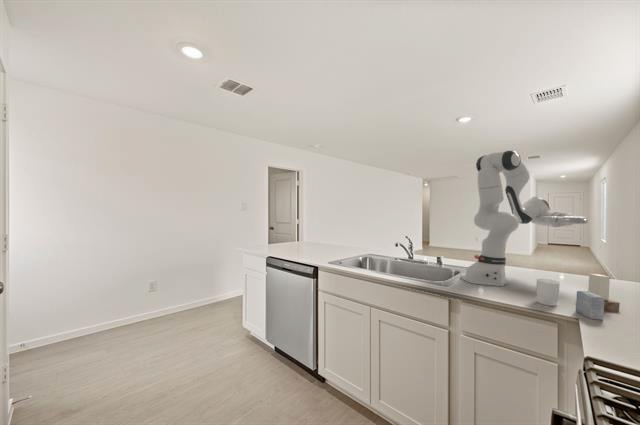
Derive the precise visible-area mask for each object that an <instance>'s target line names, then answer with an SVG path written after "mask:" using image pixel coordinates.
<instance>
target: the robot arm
mask: <svg viewBox="0 0 640 425" xmlns="http://www.w3.org/2000/svg"><path fill="white" fill-rule="evenodd" d="M475 167H476V170H477V171H478V173H477V189H478V196H479V208H478V211H477V213H476V214H475V215H474V217H473V222H474V224H475V226H476V227H477V228H479V229H482V230H485V231H489V232H488V235H487V237H486V238H484V239H483V240H482V242H481V254H480V255H477V254H474V259H477V261H476V262H474V263H472V264H470V265H469V266H468V267H467V268H466V269H465V274H461V275H460V278H461V279H462V280H463V281H465V282H468V283H470V284H473V285H483V286H484V285H485V286H496V287H497V286H498V287H505V285H507V284H508V282H507V277H506V268H505V267H506V260H507V259H506V258H507V257H506V249H507V248H506V247H507V243H508V242H507V241H508V239H509V238H510V235H511V234H512V233H514V232H515V231H517V229H518V227H519V225H520V224H521V225H522V224H526V225H527V224H529V223H532V224H534V225H537V226H542V227H543V226H545V227H551V228H560V227H564V226H566V227H567V226H573V225H586V224H588V223H589V219H588V217H587V216H582V215H575V214H573V213H568V212H567V213H565V212H562V211H555V210H554V211H553V210H551V208H550V205H549V202H548V201H547V200H546V199H544V198H542V197H537V196H532V197H531V198H530V199H528V200H527V201H525V202H524V203H523V204H522V202H521V199H520V194H521V192H522V190H523V189H524V188H525V186H526V184H528V182H529V180H530V175H531V174H530V172H529V169H528V167H527V166H526V164H525V162H524V161H523V160H522V159H521V156H520V154H519V153H518V152H517V151H516V150H506V151H500V152H492V153H489V154H485V155H482V156H480V157H479V158H478V159H477V160H476V163H475ZM500 173H502V174H503V176H504V178H505V181H506V182H505V183H506V184H505V190H504V191H505V195H506V198H507V202H508V204H509V206H510V210H511V213H510V212H506V211H499V207H500V204H501V203H502V202H503V201H504V199H505V198H504V193H503V192H504V191H503V185H502V180H501V179H502V178H501V176H500Z"/></svg>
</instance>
